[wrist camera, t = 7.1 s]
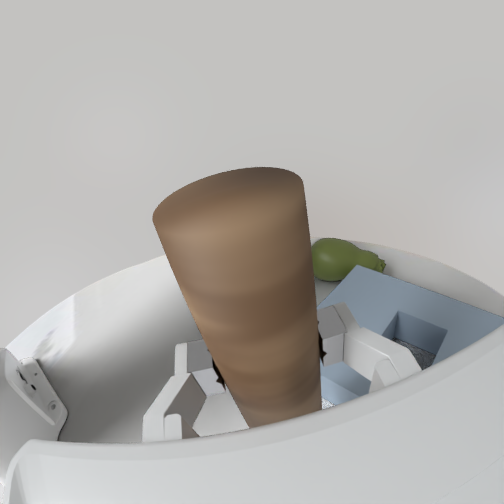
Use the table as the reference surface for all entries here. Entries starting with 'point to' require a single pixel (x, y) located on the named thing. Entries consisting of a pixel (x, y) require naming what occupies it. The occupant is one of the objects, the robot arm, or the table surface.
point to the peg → (249, 285)
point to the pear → (341, 259)
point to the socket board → (400, 324)
